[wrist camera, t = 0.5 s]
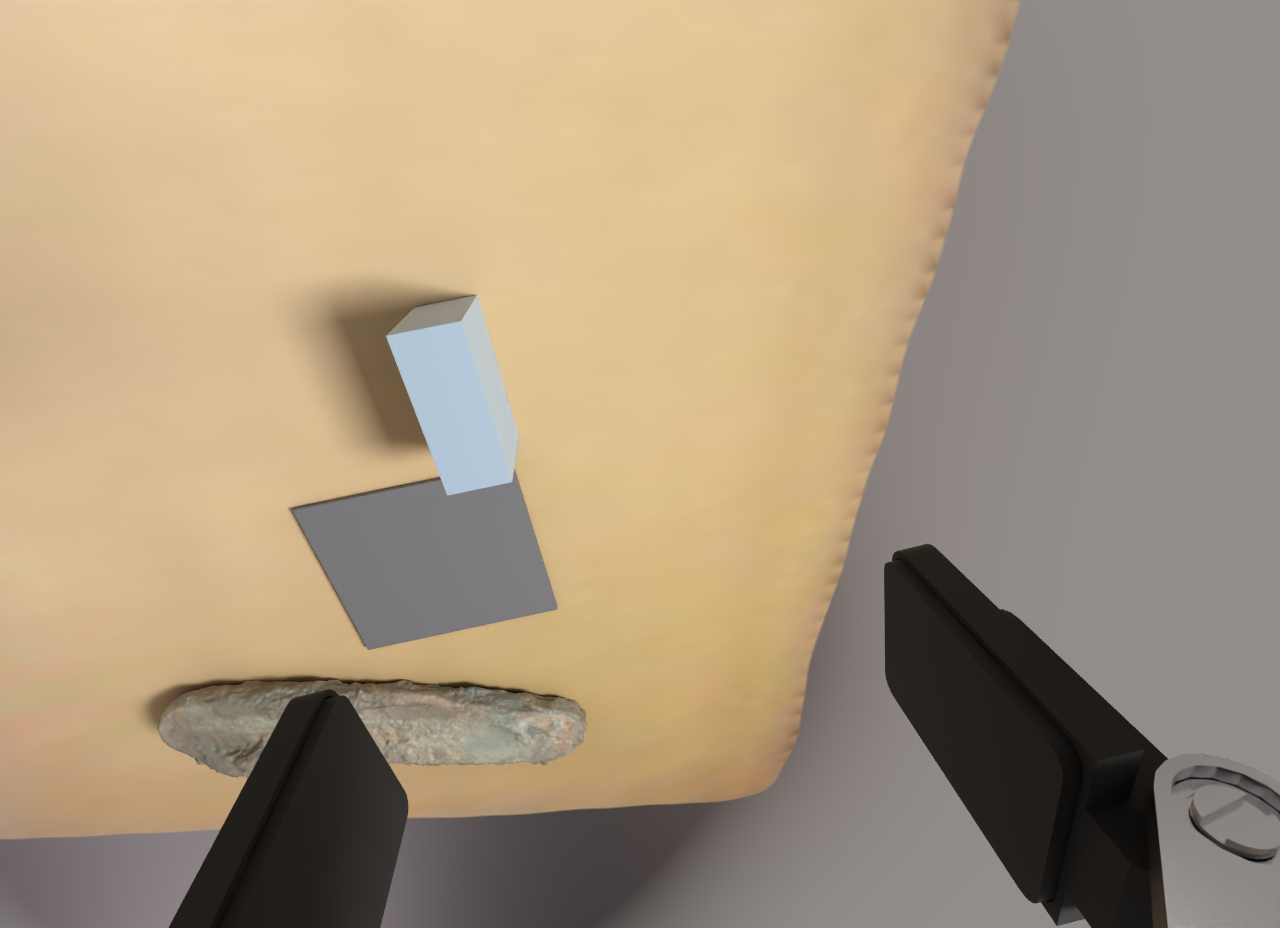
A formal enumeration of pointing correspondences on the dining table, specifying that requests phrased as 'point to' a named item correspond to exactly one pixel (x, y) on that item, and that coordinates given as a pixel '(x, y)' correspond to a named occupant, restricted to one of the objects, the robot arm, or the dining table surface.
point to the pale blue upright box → (457, 393)
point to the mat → (429, 559)
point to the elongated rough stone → (379, 723)
